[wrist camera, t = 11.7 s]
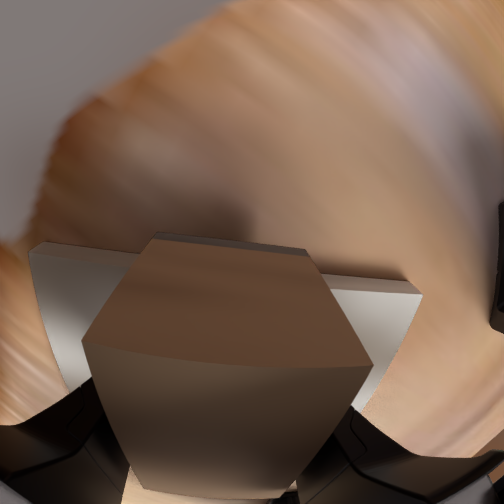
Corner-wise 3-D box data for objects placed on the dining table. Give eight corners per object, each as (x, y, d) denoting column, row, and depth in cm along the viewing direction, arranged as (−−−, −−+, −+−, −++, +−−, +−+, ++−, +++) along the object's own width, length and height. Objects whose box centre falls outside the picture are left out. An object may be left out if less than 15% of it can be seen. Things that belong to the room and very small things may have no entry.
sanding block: (265, 396, 11) (278, 497, 6) (162, 387, 11) (143, 488, 6) (305, 249, 8) (373, 365, 4) (157, 232, 8) (80, 340, 3)
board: (309, 463, 17) (312, 475, 16) (108, 446, 15) (105, 458, 14) (409, 281, 11) (423, 294, 10) (43, 241, 9) (27, 252, 8)
